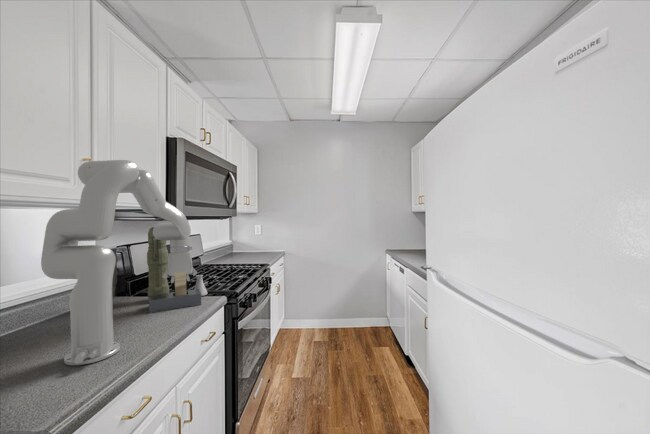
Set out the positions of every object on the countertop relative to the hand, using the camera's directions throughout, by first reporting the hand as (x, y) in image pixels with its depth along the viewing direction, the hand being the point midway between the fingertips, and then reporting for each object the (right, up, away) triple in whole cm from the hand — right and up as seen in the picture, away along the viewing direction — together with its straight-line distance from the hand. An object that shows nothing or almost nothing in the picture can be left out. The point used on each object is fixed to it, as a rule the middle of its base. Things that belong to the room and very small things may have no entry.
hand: (180, 290), depth 130 cm
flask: (+2, -7, +16) cm, 17 cm away
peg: (0, -3, 0) cm, 3 cm away
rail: (-2, -7, -1) cm, 7 cm away
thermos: (-15, -7, +9) cm, 19 cm away
